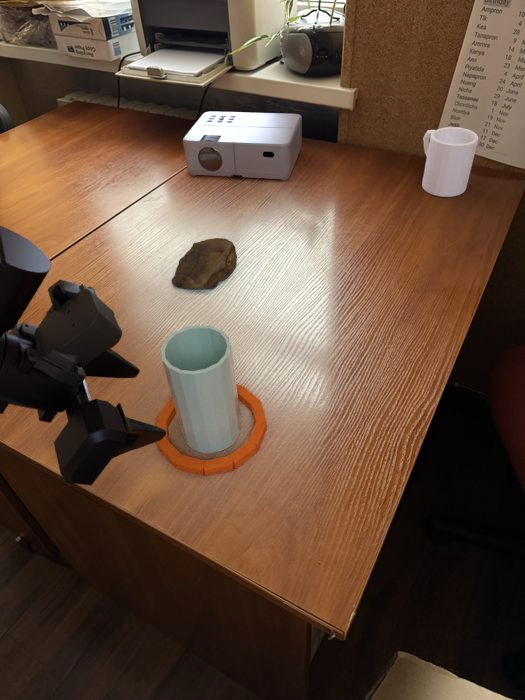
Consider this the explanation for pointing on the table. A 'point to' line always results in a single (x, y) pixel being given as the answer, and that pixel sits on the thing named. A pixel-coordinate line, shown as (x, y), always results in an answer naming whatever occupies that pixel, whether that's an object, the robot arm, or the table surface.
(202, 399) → the cup
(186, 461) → the ring
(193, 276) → the decorative stone
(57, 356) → the robot arm
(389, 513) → the table surface
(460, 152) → the mug
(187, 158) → the projector
